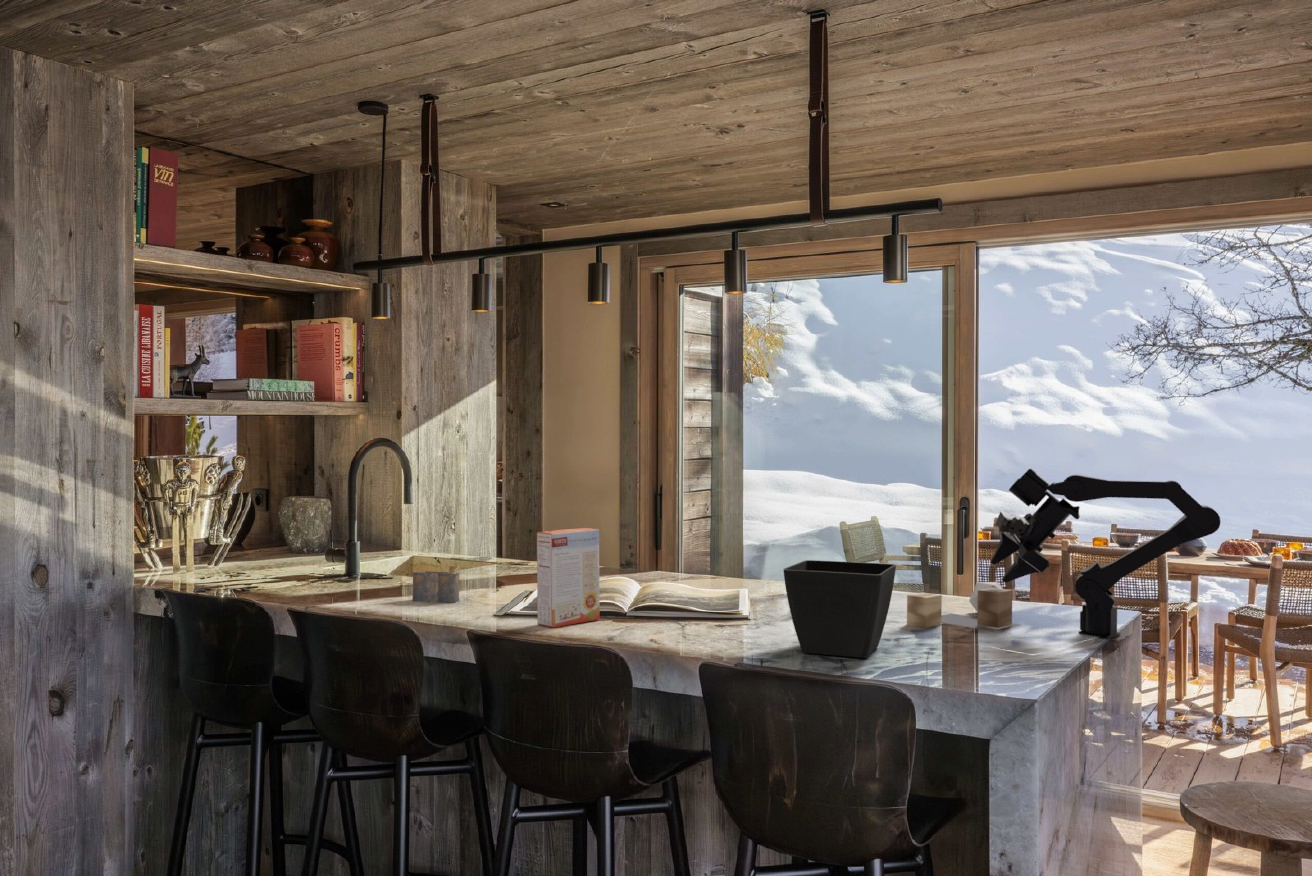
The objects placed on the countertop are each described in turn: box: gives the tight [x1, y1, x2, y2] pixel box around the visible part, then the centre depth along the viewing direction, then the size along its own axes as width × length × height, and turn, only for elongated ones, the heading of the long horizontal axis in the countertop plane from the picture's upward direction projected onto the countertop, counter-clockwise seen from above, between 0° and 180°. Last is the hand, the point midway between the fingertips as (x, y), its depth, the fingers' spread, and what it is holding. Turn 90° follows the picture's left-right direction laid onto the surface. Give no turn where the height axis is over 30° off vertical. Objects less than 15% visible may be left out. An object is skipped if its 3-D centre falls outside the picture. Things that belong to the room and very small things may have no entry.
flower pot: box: [783, 559, 897, 659], centre depth 199 cm, size 19×19×17 cm
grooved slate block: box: [412, 563, 460, 604], centre depth 253 cm, size 11×3×10 cm, turn 78°
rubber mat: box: [941, 612, 1021, 632], centre depth 229 cm, size 18×12×1 cm, turn 41°
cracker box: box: [536, 527, 601, 629], centre depth 226 cm, size 14×6×21 cm, turn 135°
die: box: [968, 581, 1004, 613], centre depth 240 cm, size 8×9×10 cm
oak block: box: [906, 592, 943, 629], centre depth 226 cm, size 5×6×7 cm
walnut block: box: [976, 588, 1013, 630], centre depth 225 cm, size 5×6×8 cm
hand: (997, 572), depth 226 cm, fingers open, 9 cm apart
